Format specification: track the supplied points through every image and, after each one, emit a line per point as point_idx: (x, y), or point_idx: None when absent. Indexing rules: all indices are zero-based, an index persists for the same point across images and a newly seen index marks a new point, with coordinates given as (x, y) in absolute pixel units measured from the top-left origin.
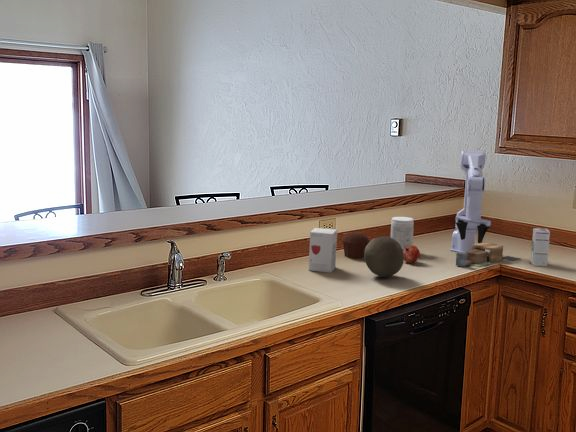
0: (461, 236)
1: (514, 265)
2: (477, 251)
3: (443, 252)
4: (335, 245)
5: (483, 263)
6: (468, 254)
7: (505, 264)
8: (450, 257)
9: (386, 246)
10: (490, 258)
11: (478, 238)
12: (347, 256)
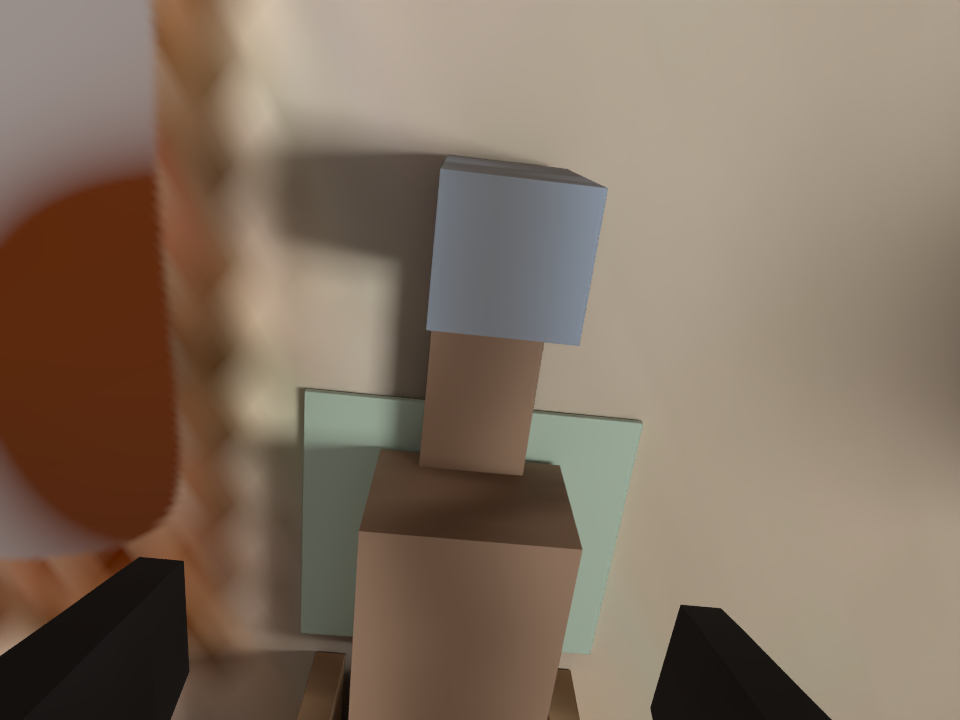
0: (738, 666)
1: None
2: (448, 685)
3: (929, 695)
4: None
5: (345, 550)
6: (516, 524)
7: None
8: (789, 555)
9: None
10: (318, 693)
11: (72, 645)
12: None
